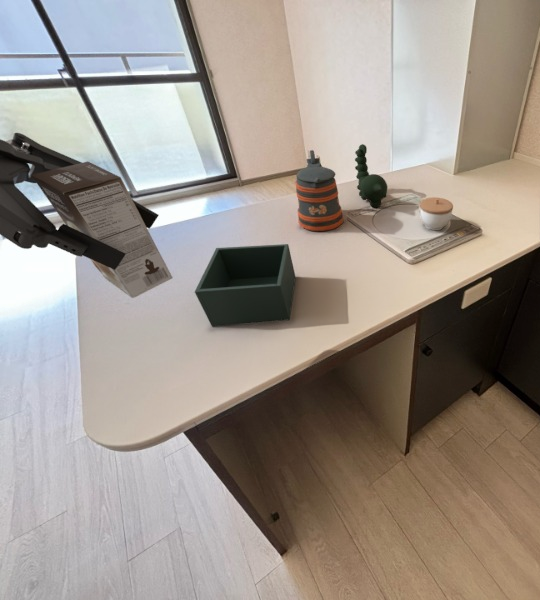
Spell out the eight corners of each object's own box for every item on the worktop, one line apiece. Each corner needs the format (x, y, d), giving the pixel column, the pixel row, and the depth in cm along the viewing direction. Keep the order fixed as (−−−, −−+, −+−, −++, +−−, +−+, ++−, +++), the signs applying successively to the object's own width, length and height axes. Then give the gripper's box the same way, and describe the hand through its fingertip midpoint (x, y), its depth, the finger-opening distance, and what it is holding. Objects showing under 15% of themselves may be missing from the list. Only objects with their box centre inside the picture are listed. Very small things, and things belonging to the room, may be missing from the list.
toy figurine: (351, 193, 132) (368, 215, 113) (346, 142, 121) (365, 157, 102) (373, 190, 134) (394, 211, 116) (370, 140, 123) (393, 154, 104)
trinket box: (451, 234, 106) (456, 207, 100) (419, 233, 106) (421, 205, 99) (448, 218, 114) (451, 192, 108) (417, 217, 114) (419, 191, 108)
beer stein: (295, 209, 116) (284, 150, 103) (336, 204, 120) (330, 147, 107) (301, 234, 102) (289, 170, 89) (347, 228, 106) (342, 166, 93)
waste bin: (211, 326, 71) (194, 291, 65) (229, 281, 84) (216, 247, 77) (289, 320, 74) (280, 285, 67) (295, 276, 86) (288, 243, 80)
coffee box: (101, 278, 50) (27, 173, 40) (144, 259, 54) (87, 160, 44) (132, 300, 47) (60, 191, 36) (176, 278, 51) (122, 175, 40)
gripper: (-21, 120, 44) (158, 220, 57) (-239, 187, 27) (85, 308, 40) (-6, 74, 41) (178, 189, 54) (-239, 115, 24) (109, 270, 37)
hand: (138, 240), depth 47 cm, fingers closed on coffee box, 10 cm apart
